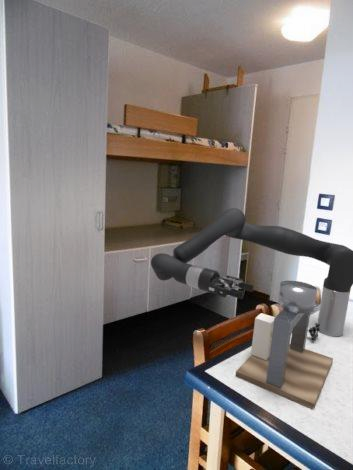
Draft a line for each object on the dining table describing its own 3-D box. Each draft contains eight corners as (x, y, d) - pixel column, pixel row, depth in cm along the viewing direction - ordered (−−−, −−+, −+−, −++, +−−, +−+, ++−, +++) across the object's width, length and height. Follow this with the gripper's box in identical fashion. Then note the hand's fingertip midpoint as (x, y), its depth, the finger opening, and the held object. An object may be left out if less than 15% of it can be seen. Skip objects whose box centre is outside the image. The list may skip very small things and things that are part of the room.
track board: (267, 340, 115) (268, 336, 114) (332, 362, 103) (333, 358, 103) (235, 376, 93) (236, 371, 92) (313, 409, 81) (314, 404, 81)
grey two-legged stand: (283, 342, 111) (293, 273, 107) (314, 352, 106) (325, 280, 101) (255, 378, 90) (265, 293, 85) (292, 393, 84) (305, 304, 80)
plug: (256, 348, 105) (261, 313, 103) (275, 354, 102) (280, 318, 100) (250, 354, 101) (255, 318, 99) (270, 361, 98) (275, 324, 96)
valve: (279, 332, 122) (312, 344, 115) (281, 315, 121) (315, 326, 113) (286, 326, 127) (318, 337, 120) (288, 310, 126) (321, 321, 118)
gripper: (193, 272, 103) (241, 286, 95) (213, 264, 115) (257, 275, 107) (190, 294, 105) (237, 310, 96) (210, 284, 117) (254, 297, 108)
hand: (248, 292), depth 102 cm, fingers open, 8 cm apart
